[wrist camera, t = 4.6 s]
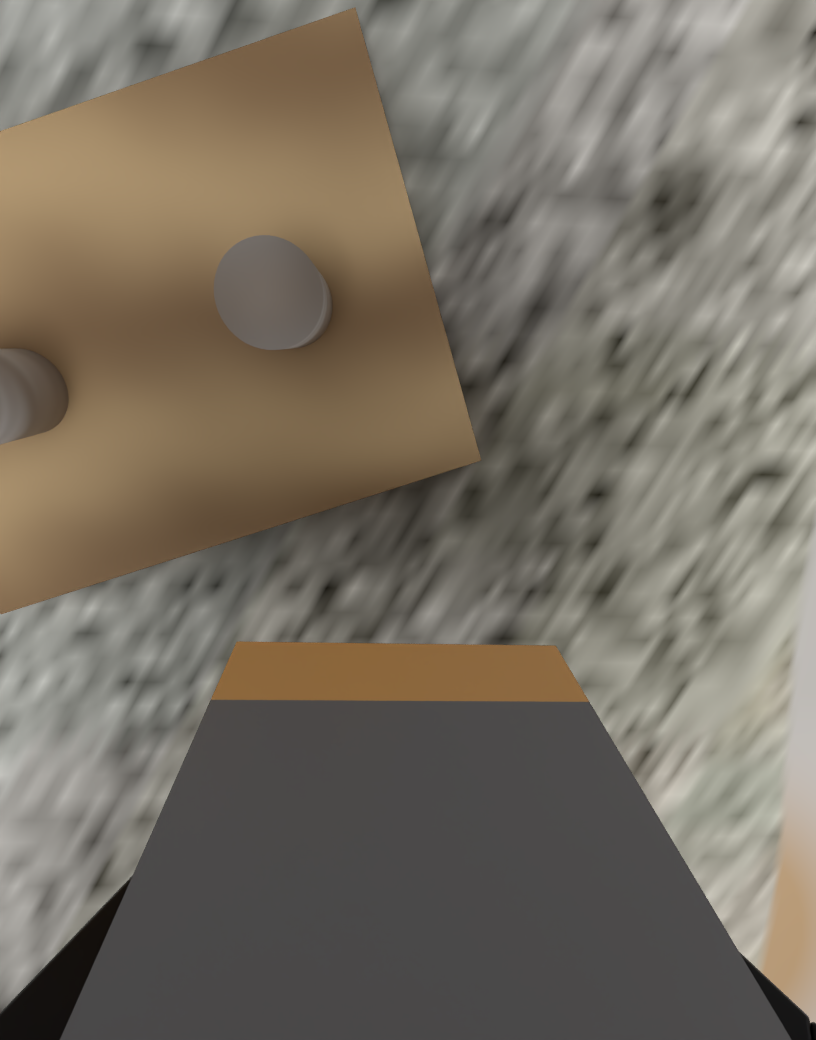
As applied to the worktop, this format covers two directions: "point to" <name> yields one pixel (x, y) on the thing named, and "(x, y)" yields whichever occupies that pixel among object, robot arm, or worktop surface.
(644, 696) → the worktop surface
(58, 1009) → the robot arm
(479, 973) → the sleeve
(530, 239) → the worktop surface
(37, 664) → the worktop surface
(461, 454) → the pin board
